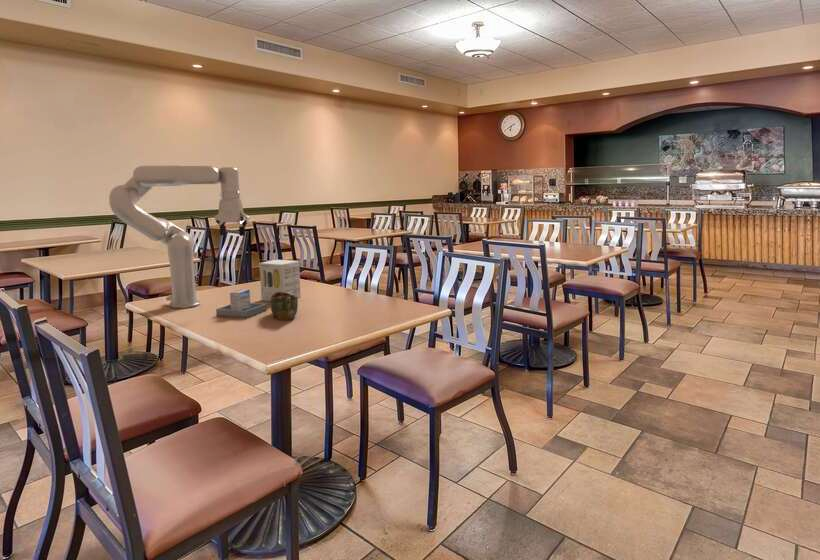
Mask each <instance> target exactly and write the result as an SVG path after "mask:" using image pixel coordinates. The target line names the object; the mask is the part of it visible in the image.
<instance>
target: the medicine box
mask: <svg viewBox="0 0 820 560" xmlns="http://www.w3.org/2000/svg"><path fill="white" fill-rule="evenodd" d="M229 298H230V299H229V300H230V304H231V310H241V311H247V310H249V309H251V303H252V302H251V291H250V289H244V288H243V289H242V288H241V289H239V290H235V291H232V292H230V293H229Z"/></svg>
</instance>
